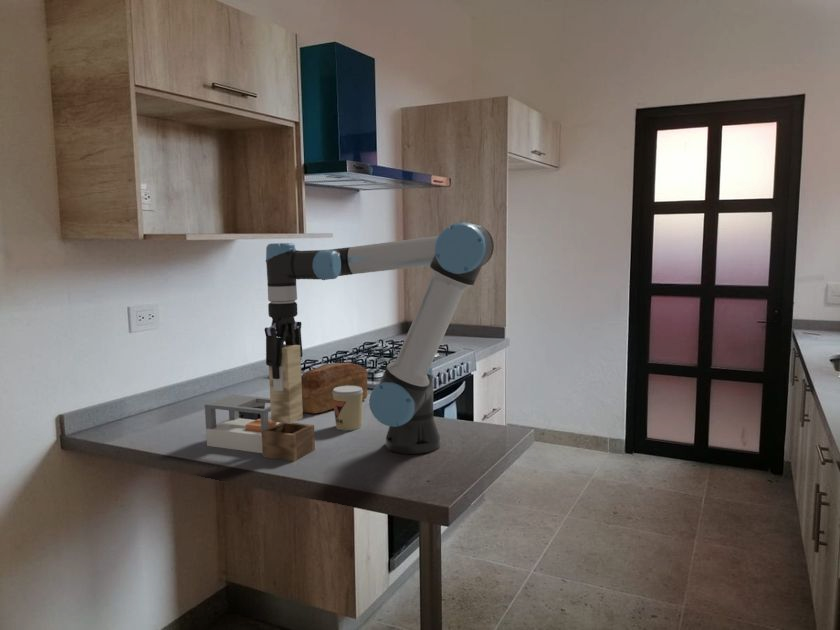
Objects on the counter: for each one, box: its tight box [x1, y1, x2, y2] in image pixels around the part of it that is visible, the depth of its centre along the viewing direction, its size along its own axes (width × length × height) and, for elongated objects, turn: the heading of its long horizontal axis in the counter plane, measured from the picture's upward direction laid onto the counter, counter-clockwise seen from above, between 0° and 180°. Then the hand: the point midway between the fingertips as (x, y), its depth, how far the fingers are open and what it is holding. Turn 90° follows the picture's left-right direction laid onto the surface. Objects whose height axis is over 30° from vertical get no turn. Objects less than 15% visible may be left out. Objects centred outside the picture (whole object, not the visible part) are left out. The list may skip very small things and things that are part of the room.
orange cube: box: [246, 419, 276, 432], centre depth 187 cm, size 6×6×6 cm
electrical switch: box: [239, 402, 266, 420], centre depth 204 cm, size 9×5×9 cm, turn 113°
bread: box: [301, 362, 369, 414], centre depth 229 cm, size 12×28×14 cm, turn 140°
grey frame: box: [204, 394, 280, 454], centre depth 188 cm, size 20×12×12 cm, turn 67°
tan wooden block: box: [268, 343, 304, 424], centre depth 177 cm, size 6×6×20 cm
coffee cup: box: [332, 386, 363, 432], centre depth 203 cm, size 9×9×12 cm
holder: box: [262, 422, 316, 462], centre depth 179 cm, size 10×10×7 cm
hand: (286, 387), depth 178 cm, fingers closed on tan wooden block, 6 cm apart
